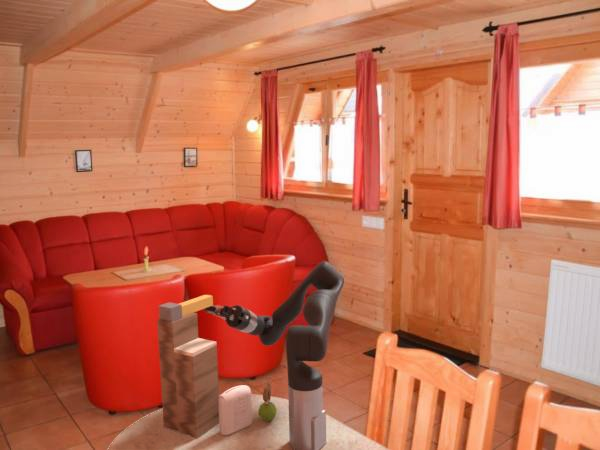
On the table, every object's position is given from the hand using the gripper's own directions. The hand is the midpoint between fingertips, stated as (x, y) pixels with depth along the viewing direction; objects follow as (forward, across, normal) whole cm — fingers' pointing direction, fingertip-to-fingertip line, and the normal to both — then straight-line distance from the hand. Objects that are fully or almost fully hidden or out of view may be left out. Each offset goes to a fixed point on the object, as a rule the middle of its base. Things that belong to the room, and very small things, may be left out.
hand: (213, 306), depth 170 cm
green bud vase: (-14, +21, +28) cm, 38 cm away
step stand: (-2, +4, +35) cm, 35 cm away
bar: (+10, 0, +4) cm, 11 cm away
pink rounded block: (-7, +16, +33) cm, 37 cm away
